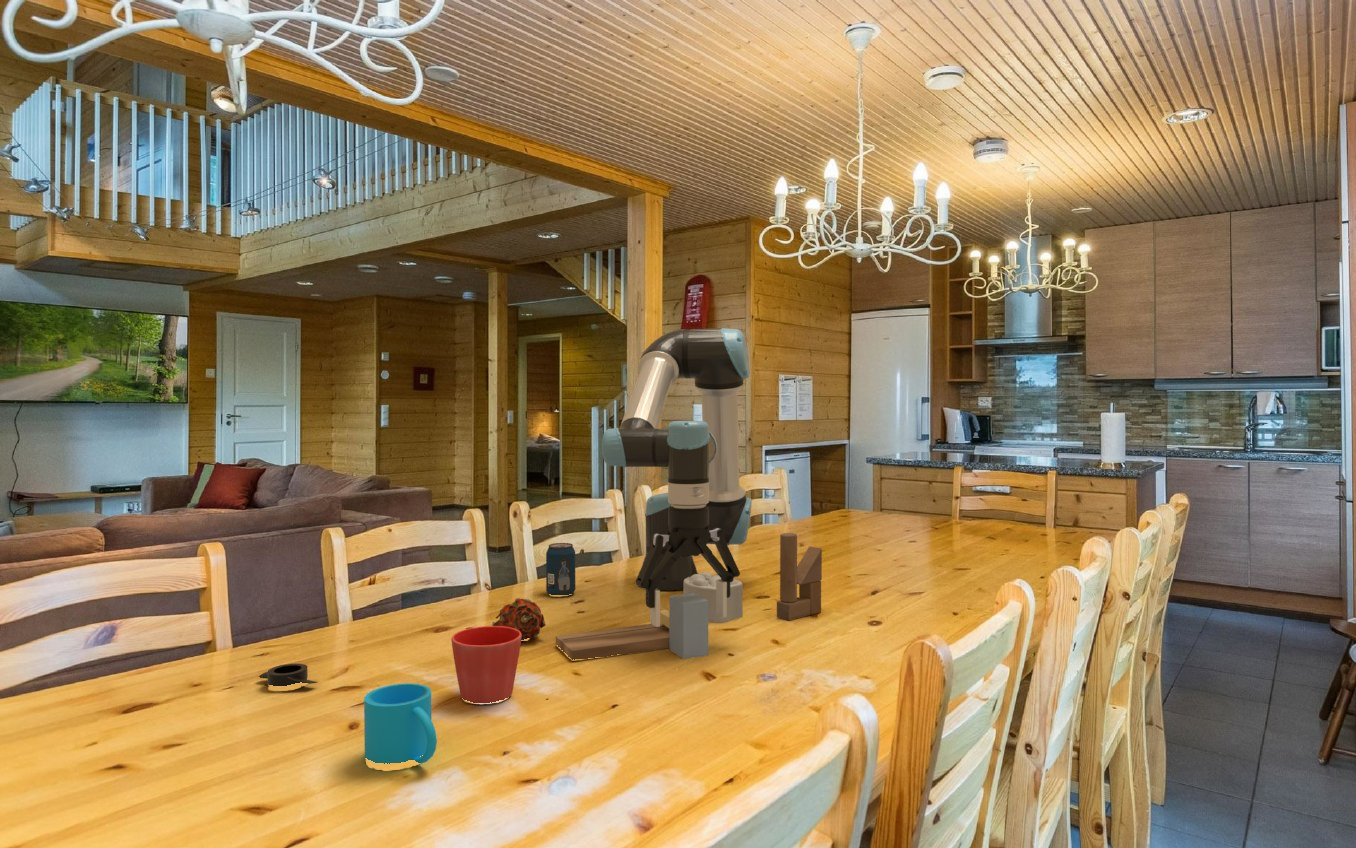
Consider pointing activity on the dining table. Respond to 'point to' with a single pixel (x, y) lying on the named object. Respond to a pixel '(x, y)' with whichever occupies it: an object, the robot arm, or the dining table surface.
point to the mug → (399, 724)
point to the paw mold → (707, 589)
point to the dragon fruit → (522, 617)
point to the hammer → (687, 625)
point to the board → (614, 641)
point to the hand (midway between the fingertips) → (688, 620)
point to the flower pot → (486, 662)
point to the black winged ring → (287, 675)
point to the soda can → (560, 569)
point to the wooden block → (799, 580)
